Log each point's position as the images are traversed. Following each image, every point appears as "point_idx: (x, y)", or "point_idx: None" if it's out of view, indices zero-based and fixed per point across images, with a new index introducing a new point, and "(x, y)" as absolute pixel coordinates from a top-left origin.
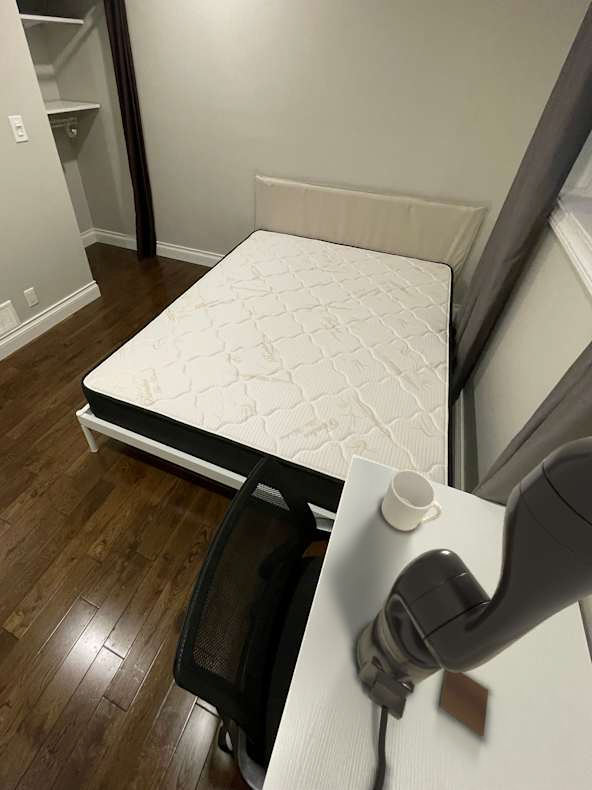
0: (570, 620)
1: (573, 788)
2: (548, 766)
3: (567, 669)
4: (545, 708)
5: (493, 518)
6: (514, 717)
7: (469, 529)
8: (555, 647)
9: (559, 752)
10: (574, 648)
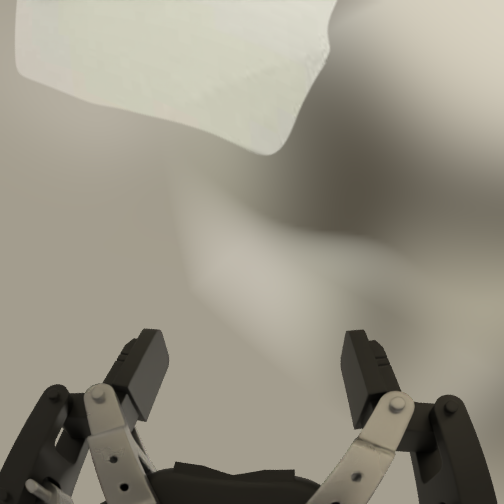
0: (138, 107)
1: (17, 65)
2: (25, 47)
3: (86, 83)
4: (55, 51)
5: (291, 56)
6: (49, 21)
7: (267, 8)
8: (105, 75)
9: (32, 58)
10: (107, 99)
